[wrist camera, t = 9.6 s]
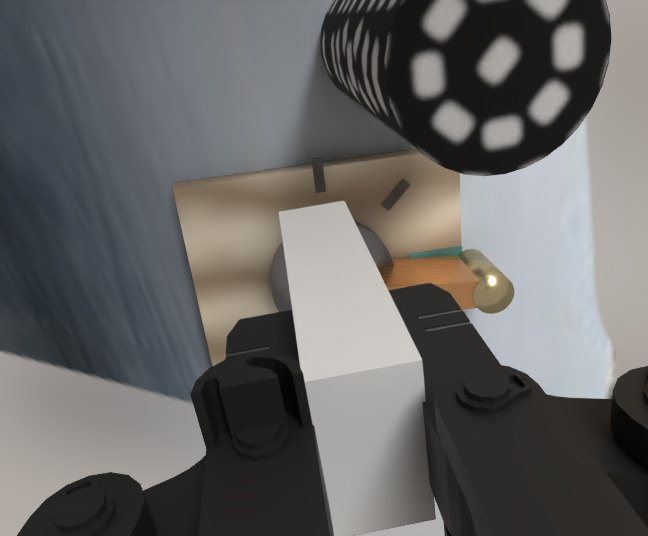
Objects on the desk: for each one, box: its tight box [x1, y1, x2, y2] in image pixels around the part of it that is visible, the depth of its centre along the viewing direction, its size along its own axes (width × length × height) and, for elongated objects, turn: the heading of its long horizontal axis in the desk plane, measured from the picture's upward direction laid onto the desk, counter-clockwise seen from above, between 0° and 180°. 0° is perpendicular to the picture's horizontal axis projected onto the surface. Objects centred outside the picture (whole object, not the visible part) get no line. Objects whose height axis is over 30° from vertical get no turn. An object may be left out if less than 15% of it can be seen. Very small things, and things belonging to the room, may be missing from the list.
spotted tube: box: [321, 0, 611, 176], centre depth 30 cm, size 8×8×20 cm
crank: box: [270, 220, 514, 314], centre depth 41 cm, size 16×9×5 cm, turn 91°
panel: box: [172, 149, 462, 366], centre depth 44 cm, size 17×20×2 cm
